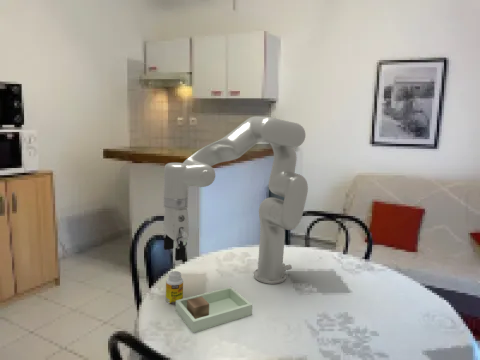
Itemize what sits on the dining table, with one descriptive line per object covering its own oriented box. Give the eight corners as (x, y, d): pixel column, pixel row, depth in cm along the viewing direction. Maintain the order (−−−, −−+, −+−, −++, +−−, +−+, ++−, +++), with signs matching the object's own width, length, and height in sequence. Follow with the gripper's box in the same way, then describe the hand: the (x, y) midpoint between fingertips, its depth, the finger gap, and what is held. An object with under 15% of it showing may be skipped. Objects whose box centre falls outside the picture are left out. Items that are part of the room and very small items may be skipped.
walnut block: (201, 311, 110) (201, 296, 110) (208, 319, 106) (209, 303, 105) (186, 315, 108) (187, 300, 107) (193, 323, 104) (194, 308, 103)
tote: (230, 298, 121) (231, 286, 120) (251, 316, 110) (252, 304, 109) (175, 312, 110) (175, 300, 109) (193, 335, 99) (193, 321, 99)
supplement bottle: (169, 308, 112) (170, 278, 111) (163, 300, 117) (163, 271, 115) (185, 304, 115) (186, 275, 114) (178, 296, 120) (179, 268, 118)
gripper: (198, 208, 105) (196, 262, 108) (176, 195, 119) (175, 243, 122) (175, 210, 101) (173, 266, 104) (154, 197, 115) (153, 246, 118)
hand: (174, 254), depth 113 cm, fingers open, 9 cm apart
